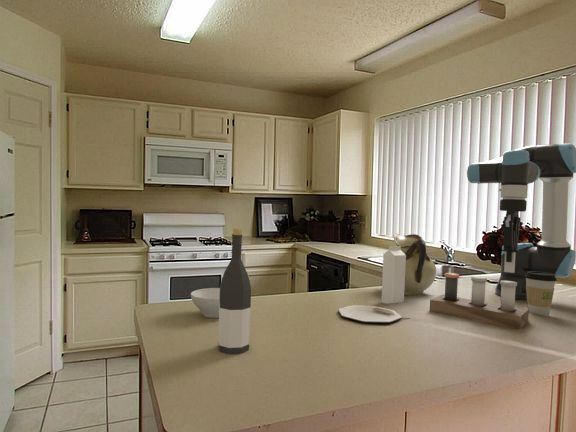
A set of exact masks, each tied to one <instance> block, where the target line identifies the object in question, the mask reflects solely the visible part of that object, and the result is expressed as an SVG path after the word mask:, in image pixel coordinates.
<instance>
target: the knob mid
mask: <svg viewBox="0 0 576 432" xmlns="http://www.w3.org/2000/svg"><path fill="white" fill-rule="evenodd" d="M470 278H471V279H470V280H471V298H470V299H471V304H473V305H477V306H484V302H486V301H485V297H486V283H487V282H488V278H487V277H482V276H471V277H470Z"/></svg>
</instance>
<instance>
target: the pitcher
mask: <svg viewBox="0 0 576 432" xmlns="http://www.w3.org/2000/svg"><path fill="white" fill-rule="evenodd" d="M393 240H394V243H395V246H401V251H402V252H403V253H404V254H405V255H406V265H405V288H404V296H414V295H417V294H424V291H426V290H427V289H429V288H430V287H431V286H432V284H433V283H434V282H435V280H436V277H437V266H436V264H435V263H434V261H433V260H432V259H431V257H430V256H429V255H428V253H427V244H426V242H425V240H424V239H423V237H422V236H420V235H418V234H417V233H416V234H415V233H414V234H413V233H412V234H407V235H402V234H401V235H400V234H398V233H394V234H393Z"/></svg>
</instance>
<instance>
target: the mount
mask: <svg viewBox="0 0 576 432" xmlns="http://www.w3.org/2000/svg"><path fill="white" fill-rule="evenodd" d="M471 299H472V298H465V297H459V296H457V301H449V300H445V294H441V295H438V296H435V297H433V298H431V299H430V300H429V312H432V313H439V314H442V315H448V316H451V317H457V318H461V319H467V320H471V321H477V322H481V323H485V324H486V323H487V324H490V325H497V326H500V327H505V328H510V329H516V330H521V329H522V328H523V327H524V326H525V325H526V324H527V323H529V309H527V308H523V307H522V308H521V307H516V306H515V307H514V311H505V310H501V309H500V304H501V303H493V302H486V301H484V306H477V305H473V304H471Z"/></svg>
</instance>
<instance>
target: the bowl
mask: <svg viewBox="0 0 576 432" xmlns="http://www.w3.org/2000/svg"><path fill="white" fill-rule="evenodd" d="M190 298H191V302H192V303H193V305H194V306H195V307H196V308H197V309H198V310H199V311H200V312H201V314H202V316H204V317H206V318H211V319H213V318H214V319H216V318H217V319H219V300H220V287H210V288H201V289H195V290H193V291H191V292H190Z"/></svg>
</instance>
